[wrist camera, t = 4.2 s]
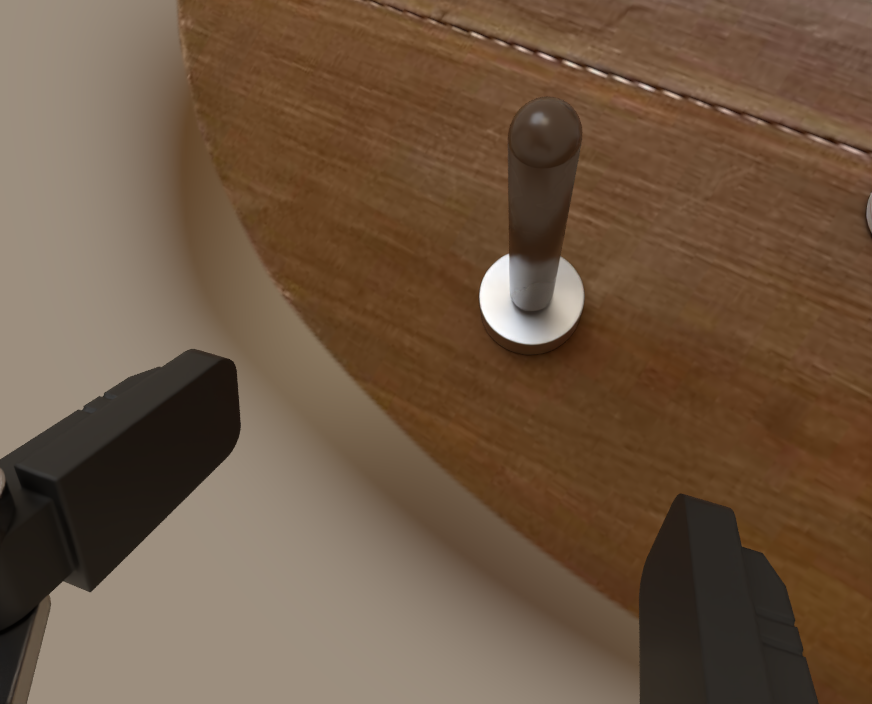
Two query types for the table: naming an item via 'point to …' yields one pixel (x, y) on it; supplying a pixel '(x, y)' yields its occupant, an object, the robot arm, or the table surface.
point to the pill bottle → (869, 212)
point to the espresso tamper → (536, 234)
